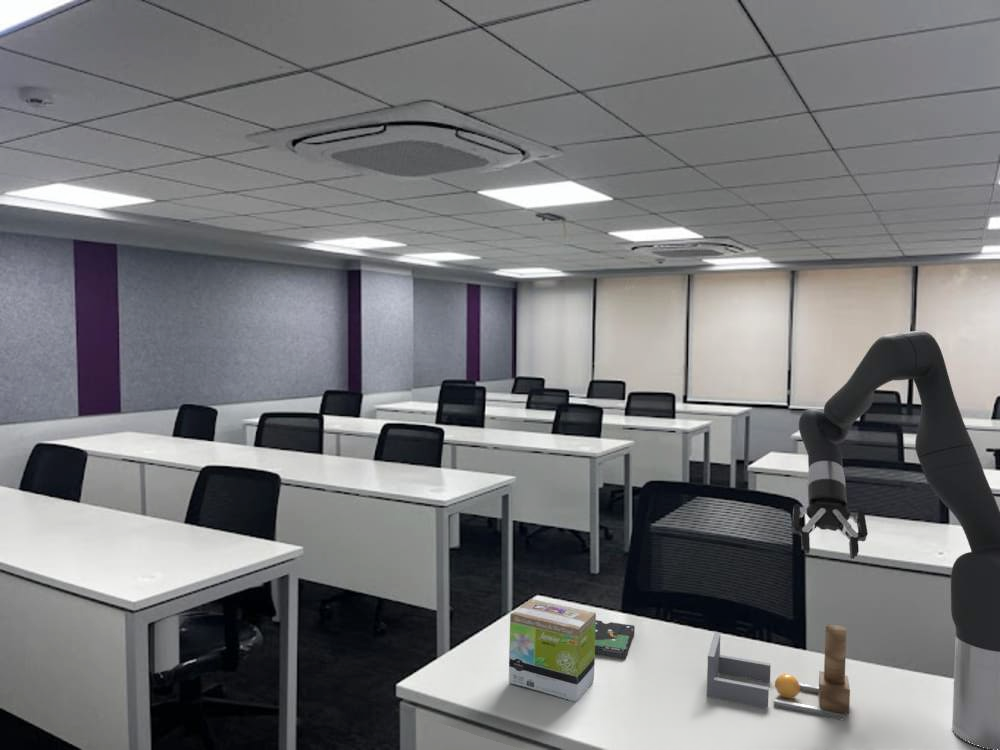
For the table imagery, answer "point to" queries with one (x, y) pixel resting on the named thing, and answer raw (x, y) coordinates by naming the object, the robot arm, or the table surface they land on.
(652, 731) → the table surface
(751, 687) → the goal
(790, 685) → the ball
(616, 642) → the disk drive
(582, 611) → the tea box
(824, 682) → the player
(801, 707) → the track
